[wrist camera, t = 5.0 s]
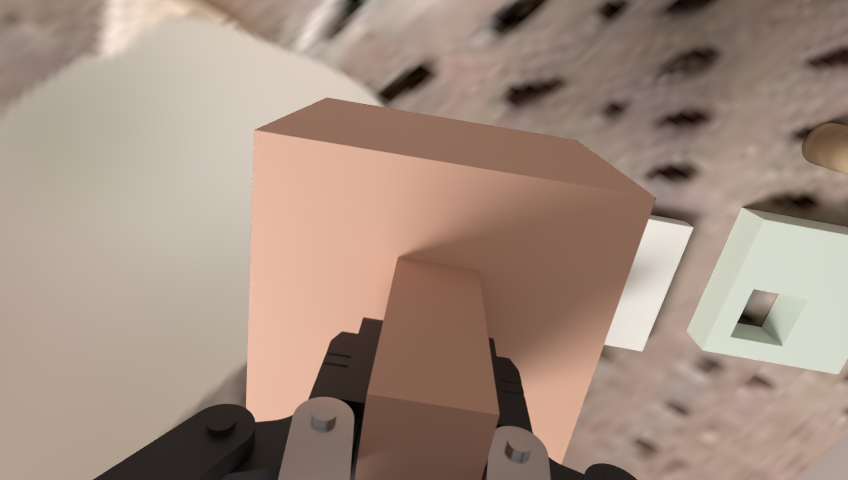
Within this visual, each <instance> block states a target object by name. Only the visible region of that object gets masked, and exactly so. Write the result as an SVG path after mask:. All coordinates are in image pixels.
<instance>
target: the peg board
mask: <svg viewBox="0 0 848 480" xmlns="http://www.w3.org/2000/svg"><path fill="white" fill-rule="evenodd" d="M753 289H756V290H761V291H767V292H772V293H778V296H777V298H776V300H775V302H774V304H773V306H772V308H771V310H770V312H769V314H768V316H767V318H766V319H765V321H764V323H763V325H762V327H757V326H752V325H746V324H740V323H737V322H738V320H739V318H740V316H741V314H742V312H743V310H744V308H745V305H746V303H747V301H748V299H749V297H750V295H751V293H752V291H753ZM687 332H688V334H689V335H690V336H691V337H692V338H693V339H694V341H695V342H696V343H697V344H698V345H699V347H700V348H701V349H702V350H704V351H710V352H715V353H721V354H726V355H732V356H738V357H743V358H749V359H754V360H760V361H766V362H771V363H777V364H783V365H788V366H794V367H799V368H805V369H811V370H816V371H822V372H827V373H833V374H839V372H840V370H841V369H842V367H843V365H844V364H845V362H846V361H847V359H848V227H845V226H839V225H834V224H829V223H823V222H818V221H812V220H807V219H802V218H796V217H791V216H786V215H780V214H775V213H770V212H764V211H759V210H754V209H748V208H743V207H742V208H741V210H740V212H739V215H738V217H737V219H736V221H735V224H734V226H733V228H732V230H731V232H730V235H729V237H728V239H727V241H726V244H725V246H724V248H723V250H722V253H721V255H720V257H719V259H718V262H717V264H716V266H715V268H714V270H713V273H712V275H711V277H710V279H709V282H708V284H707V286H706V288H705V291H704V293H703V295H702V297H701V300H700V302H699V304H698V306H697V309H696V311H695V313H694V315H693V317H692V320H691V322H690V324H689V326H688V329H687Z"/></svg>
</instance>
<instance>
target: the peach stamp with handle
mask: <svg viewBox="0 0 848 480" xmlns="http://www.w3.org/2000/svg"><path fill="white" fill-rule="evenodd" d="M253 159H254V160H253V192H252V225H251V261H250V295H249V330H248V362H247V396H246V409H248V410H249V411H250V412H251V413H252V414H253V416H254V418H255V422H262V421H272V420H279V419H283V418H286V417H289V416H291V415H293V414H294V411H295V410H296V408H297V407H298V406H299V405H300V404H302V403H303V402H305V401H307V400H308V398H309V396H310V393H311V391H312V388H313V386H314V383H315V380H316V378H317V375H318V373H319V370H320V367H321V365H322V363H323V360H324V357H325V354H326V352H327V349H328V347H329V344H330V341H331V340H332V339H333V338H334V337H336V336H337V335H338V334H339V333H341V332H342V331H344V332H350V333H356V334H358V333H359V329H360V326H361V323H362V319H363V317H366V318H372V319H378V320H383V325H382V329H381V334H380V338H379V342H378V347H377V351H376V356H375V360H374V365H373V369H372V374H371V378H370V382H369V387H368V391H367V397H366V404H365V411H364V418H363V424H362V431H361V438H360V445H359V452H358V459H357V466H356V473H355V480H482V476H483V473H484V469H485V466H486V462H487V458H488V455H489V451H490V448H491V444H492V440H493V437H494V433H495V430H496V426H497V422H498V419H499V415H500V414H499V407H498V400H497V393H496V387H495V380H494V373H493V366H492V359H491V353H490V346H489V339H488V337H489V338H493V339H494V343H495V349H496V355H497V356H499V357H505V358H510V360H511V361H512V362H513V364H514V365H515V366H516V367H517V369H518V370H519V373H520V377H521V382H522V386H523V391H524V397H525V400H526V404H527V409H528V413H529V417H530V422H531V426H532V431H533V434H534V435H535V436H537V437H538V438H539V439H540V440H541V441H542V443H543V444H544V445H545V447H546V449H547V452H548V457H550V458H551V459H552V460H554V461H555V462H557V463H559V464H561V463H562V461H563V458H564V455H565V452H566V449H567V447H568V444H569V441H570V438H571V435H572V433H573V430H574V427H575V424H576V421H577V419H578V416H579V413H580V410H581V407H582V405H583V402H584V399H585V396H586V393H587V391H588V388H589V385H590V382H591V379H592V377H593V374H594V371H595V368H596V365H597V363H598V360H599V357H600V354H601V351H602V348H603V346H604V343H605V340H606V337H607V334H608V332H609V329H610V326H611V323H612V320H613V318H614V315H615V312H616V309H617V306H618V304H619V301H620V298H621V295H622V292H623V290H624V287H625V284H626V281H627V278H628V276H629V273H630V270H631V267H632V264H633V262H634V259H635V256H636V253H637V250H638V248H639V245H640V242H641V239H642V236H643V233H644V231H645V228H646V225H647V222H648V219H649V217H650V214H651V211H652V208H653V205H654V203H655V200H656V197H654V196H653V195H651V194H650V193H649V192H647V191H646V190H645V189H643V188H642V187H640V186H639V185H638V184H636V183H635V182H634V181H632V180H631V179H629V178H628V177H627V176H625V175H624V174H623V173H621V172H620V171H618V170H617V169H616V168H614V167H613V166H612V165H610V164H609V163H607V162H606V161H605V160H603V159H602V158H600V157H599V156H598V155H596V154H595V153H594V152H592V151H591V150H589V149H588V148H587V147H585V146H584V145H583V144H581V143H580V142H578V141H577V140H572V139H566V138H560V137H554V136H548V135H542V134H537V133H531V132H525V131H519V130H513V129H507V128H501V127H496V126H490V125H484V124H478V123H472V122H466V121H461V120H455V119H449V118H443V117H437V116H431V115H425V114H420V113H414V112H408V111H402V110H396V109H390V108H385V107H379V106H373V105H367V104H361V103H355V102H349V101H343V100H338V99H332V98H325V99H323V100H321V101H318V102H316V103H314V104H312V105H309V106H307V107H305V108H303V109H300V110H298V111H296V112H294V113H291V114H289V115H287V116H285V117H283V118H280V119H278V120H276V121H273V122H271V123H269V124H267V125H265V126H262V127H260V128H258V129H256V130H254V158H253Z"/></svg>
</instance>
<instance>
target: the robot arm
mask: <svg viewBox="0 0 848 480" xmlns="http://www.w3.org/2000/svg"><path fill="white" fill-rule="evenodd" d="M382 325H383V320H378V319H372V318H366V317H363V319H362V323H361V326H360V329H359V333H358V334H356V333H350V332H344V331H342V332H341V333H339V334H338V335H337V336H336V337H334V338H333V339H332V340H331V341H330V344H329V347H328V349H327V352H326V354H325V357H324V360H323V363H322V365H321V367H320V370H319V373H318V375H317V378H316V380H315V383H314V386H313V388H312V391H311V393H310V396H309V398H308V400H307V401H305V402H303V403H302V404H300V405H299V406H298V407H297V408H296V410H295V411H294V414H293V415H291V416H289V417H286V418H283V419H279V420H272V421H262V422H255V418H254V416H253V414H252V413H251V412H250V411H249V410H248V409H246V408H244V407H242V406H239V405H234V404H220V405H215V406H211V407H208V408H206V409H204V410H202V411H200V412H198V413H197V414H195V415H194V416H192V417H191V418H189V419H188V420H186V421H184V422H183V423H181V424H180V425H178V426H177V427H175V428H173V429H172V430H170V431H169V432H167V433H166V434H164V435H162V436H161V437H159V438H158V439H156V440H155V441H153V442H151V443H150V444H148V445H147V446H145V447H144V448H142V449H141V450H139V451H137V452H136V453H134V454H133V455H131V456H130V457H128V458H126V459H125V460H123V461H122V462H120V463H119V464H117V465H115V466H114V467H112V468H111V469H109V470H108V471H106V472H104V473H103V474H101V475H100V476H98V477H97V478H95V479H93V480H350V478H353V479H355V473H356V466H357V459H358V452H359V445H360V438H361V431H362V424H363V418H364V411H365V404H366V397H367V391H368V387H369V382H370V378H371V374H372V369H373V365H374V360H375V356H376V351H377V347H378V342H379V338H380V334H381V329H382ZM488 339H489V346H490V353H491V359H492V366H493V373H494V380H495V387H496V393H497V400H498V407H499V414H500V415H499V419H498V422H497V426H496V430H495V433H494V437H493V440H492V444H491V448H490V451H489V455H488V458H487V462H486V466H485V469H484V473H483V476H482V480H637V479H636V478H635V477H633V476H632V475H631V474H629V473H628V472H626V471H625V470H623V469H621V468H619V467H616V466H613V465H610V464H594V465H592V466H590V467H589V468H588V469H587V470H586V472H585V474H582V473H580V472H577V471H575V470H572V469H570V468H568V467H565V466H563V465H561V464H559V463H557V462H555V461H554V460H552V459H551V458H550V457H548V452H547V449H546V447H545V445H544V444H543V443H542V441H541V440H540V439H539V438H538V437H537V436H535V435H534V434H533V431H532V426H531V422H530V417H529V413H528V409H527V404H526V400H525V397H524V391H523V386H522V382H521V377H520V373H519V370H518V369H517V367H516V366H515V365H514V364H513V362H512V361H511V360H510V358H505V357H499V356H497V355H496V349H495V343H494V339H493V338H489V337H488Z"/></svg>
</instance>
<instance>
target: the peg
mask: <svg viewBox="0 0 848 480" xmlns="http://www.w3.org/2000/svg"><path fill="white" fill-rule="evenodd" d="M802 153H803V156H804V158H805V159H806V160H807V161H808V162H810V163H812V164H816V165H819V166H822V167H825V168H828V169H831V170H834V171H837V172H840V173H843V174H847V175H848V126H846V125H841V124H836V123H825V124H822V125H819V126H817V127H816V128H814V129H813V130H811V131H810V132H809V134H808V135H807V136H806V138H805V139H804V142H803V145H802Z"/></svg>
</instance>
